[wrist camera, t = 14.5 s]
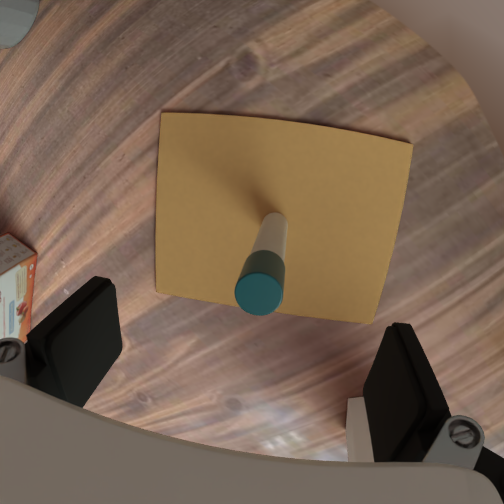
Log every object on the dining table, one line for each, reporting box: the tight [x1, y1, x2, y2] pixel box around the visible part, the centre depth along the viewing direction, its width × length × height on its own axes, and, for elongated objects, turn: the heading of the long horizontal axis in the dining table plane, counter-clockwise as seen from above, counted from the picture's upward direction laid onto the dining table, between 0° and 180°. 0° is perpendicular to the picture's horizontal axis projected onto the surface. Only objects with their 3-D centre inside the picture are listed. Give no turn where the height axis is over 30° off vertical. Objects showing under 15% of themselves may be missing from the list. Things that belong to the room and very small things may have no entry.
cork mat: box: [156, 112, 413, 324], centre depth 26 cm, size 16×20×1 cm
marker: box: [234, 212, 288, 315], centre depth 20 cm, size 2×2×12 cm
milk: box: [346, 397, 374, 462], centre depth 22 cm, size 6×6×22 cm
